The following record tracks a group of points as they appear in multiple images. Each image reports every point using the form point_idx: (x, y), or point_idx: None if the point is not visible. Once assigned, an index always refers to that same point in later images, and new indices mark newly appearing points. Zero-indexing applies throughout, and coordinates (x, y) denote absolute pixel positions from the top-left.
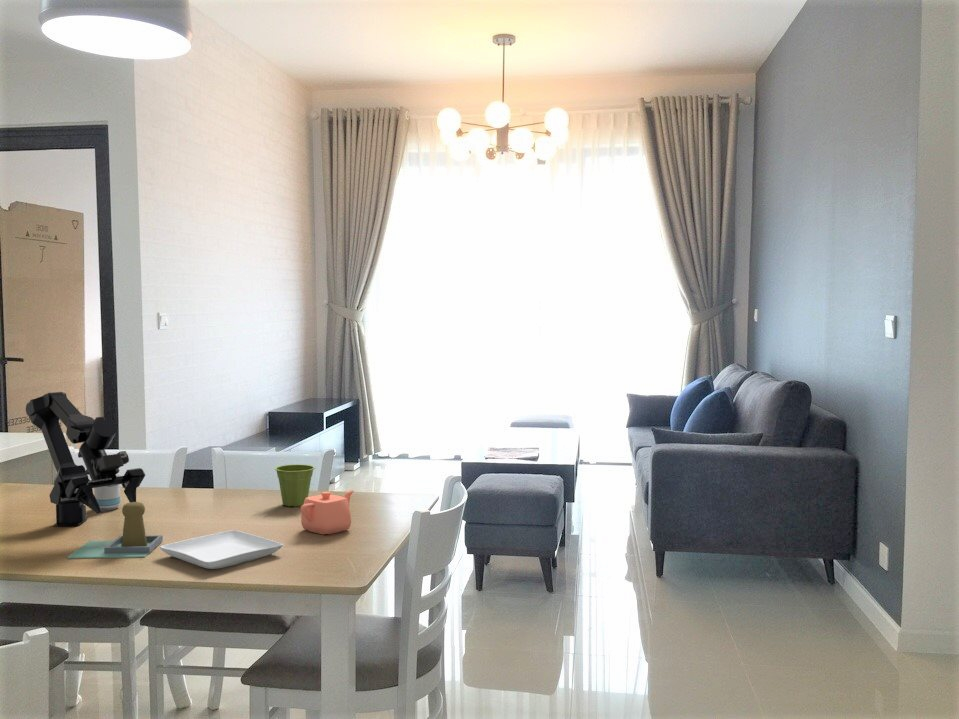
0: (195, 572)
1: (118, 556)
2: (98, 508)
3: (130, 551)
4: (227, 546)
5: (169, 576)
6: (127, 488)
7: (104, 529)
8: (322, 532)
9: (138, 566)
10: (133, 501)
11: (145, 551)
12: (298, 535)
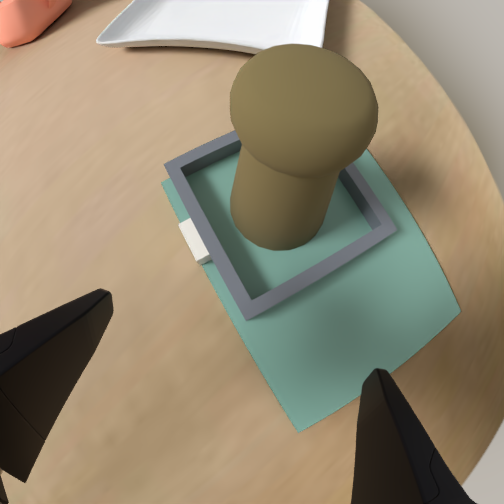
0: (332, 6)
1: (381, 169)
2: (393, 385)
3: None
4: (175, 21)
5: (375, 25)
6: (4, 442)
7: (140, 499)
8: (70, 2)
9: (385, 86)
10: (91, 309)
11: None
12: (65, 24)
